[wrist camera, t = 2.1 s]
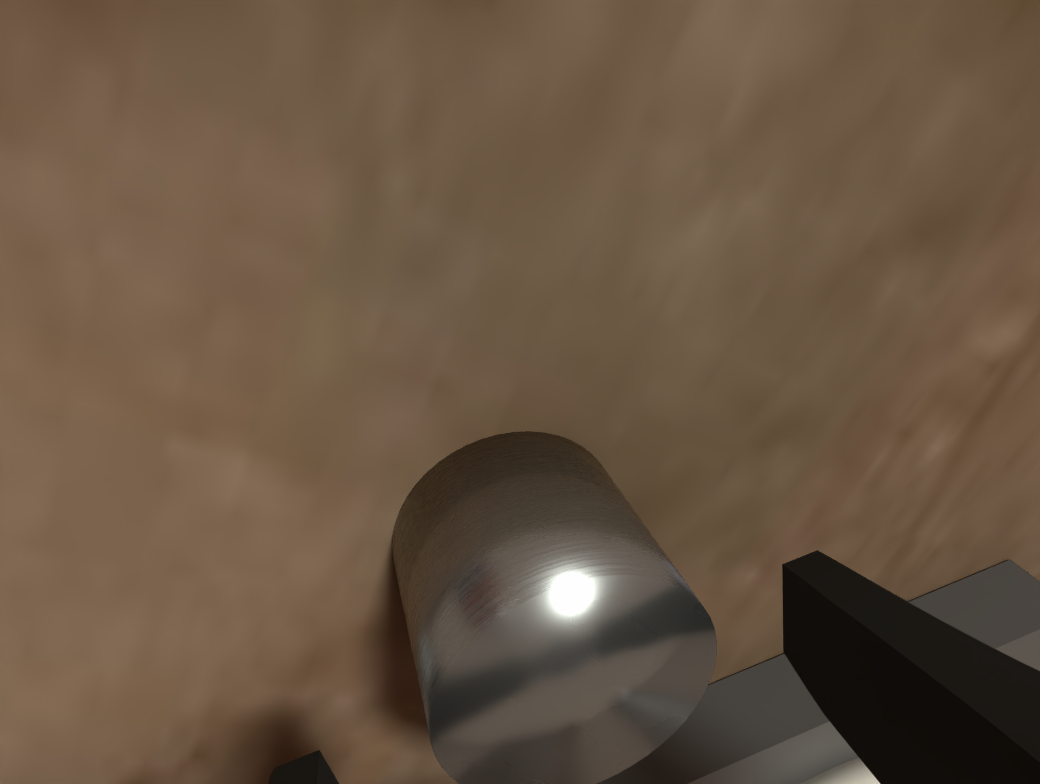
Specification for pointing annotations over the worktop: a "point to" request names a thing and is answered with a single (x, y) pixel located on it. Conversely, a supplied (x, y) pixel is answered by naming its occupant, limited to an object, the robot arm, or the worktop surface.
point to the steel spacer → (543, 616)
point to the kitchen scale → (796, 716)
